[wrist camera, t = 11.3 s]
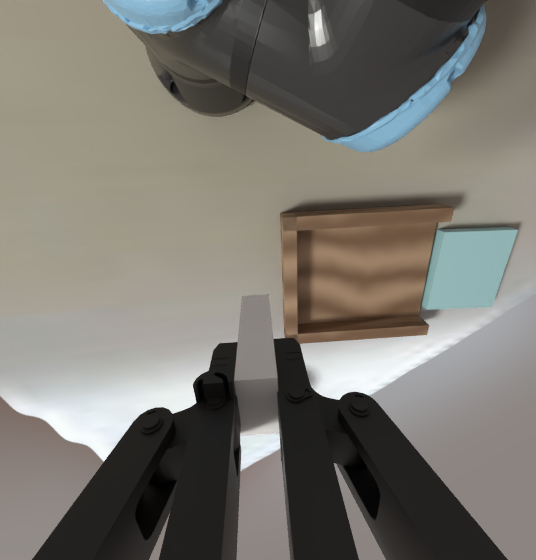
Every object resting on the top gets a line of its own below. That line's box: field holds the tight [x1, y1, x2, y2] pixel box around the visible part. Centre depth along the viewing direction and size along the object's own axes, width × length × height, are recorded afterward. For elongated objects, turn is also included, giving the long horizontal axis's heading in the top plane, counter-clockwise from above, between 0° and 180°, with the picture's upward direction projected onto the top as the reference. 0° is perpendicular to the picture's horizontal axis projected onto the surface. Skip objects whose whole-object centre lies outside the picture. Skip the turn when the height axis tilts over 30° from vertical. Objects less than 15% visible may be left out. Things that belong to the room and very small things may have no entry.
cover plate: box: [421, 227, 518, 310], centre depth 47 cm, size 14×12×2 cm
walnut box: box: [280, 204, 454, 344], centre depth 45 cm, size 22×25×4 cm
